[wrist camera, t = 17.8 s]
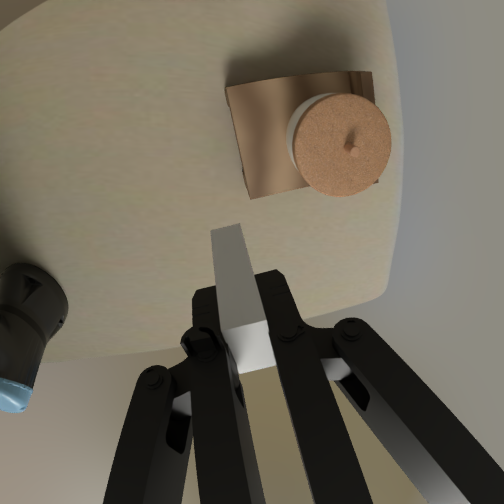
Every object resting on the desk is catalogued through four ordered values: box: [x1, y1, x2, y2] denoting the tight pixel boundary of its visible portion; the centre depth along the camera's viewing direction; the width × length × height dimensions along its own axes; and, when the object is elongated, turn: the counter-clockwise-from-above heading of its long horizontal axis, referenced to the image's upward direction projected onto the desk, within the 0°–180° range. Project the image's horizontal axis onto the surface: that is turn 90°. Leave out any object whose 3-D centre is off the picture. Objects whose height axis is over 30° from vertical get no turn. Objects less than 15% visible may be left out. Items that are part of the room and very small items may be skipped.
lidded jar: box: [286, 93, 391, 197], centre depth 29 cm, size 11×11×9 cm
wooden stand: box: [225, 71, 378, 199], centre depth 33 cm, size 16×14×7 cm
